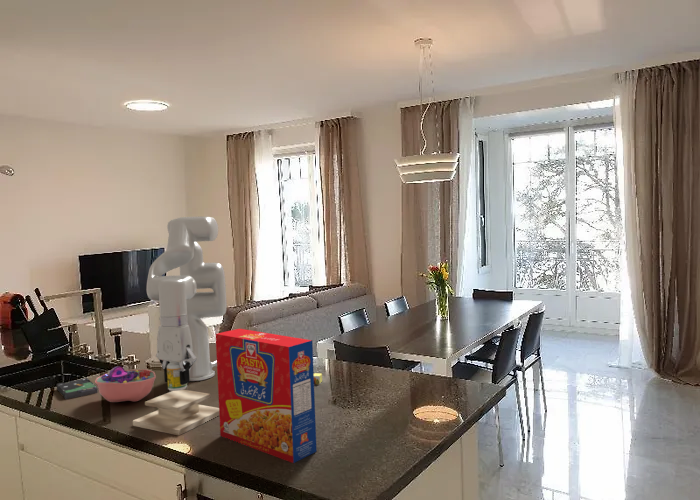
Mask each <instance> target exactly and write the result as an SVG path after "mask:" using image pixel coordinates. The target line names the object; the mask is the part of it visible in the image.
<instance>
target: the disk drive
mask: <svg viewBox="0 0 700 500" xmlns="http://www.w3.org/2000/svg"><path fill="white" fill-rule="evenodd" d="M56 390H58V391H59V392H60V393H61V394H62V395H63V396H64V397H63V396H62V395H61V394H60V393H59V392H58V391H57V392H58V393H59V394H60V395H61V396H62V397H63V398H64V399H65V400H70V399H69V398H71V399H74V398H80V397H85V396H91V395H94V394H98V392H99V389H98V386H97V385H96V383H94V382H93V381H91V380H90V379H89V378H88V377H85V378H80V379H75V380H70V381H68V382H60V383H56Z"/></svg>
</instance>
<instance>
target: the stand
mask: <svg viewBox="0 0 700 500" xmlns="http://www.w3.org/2000/svg"><path fill="white" fill-rule="evenodd" d="M209 398H211V393H206V392H201V391H194V390H187V389H183V390H179V391H171V390H170V391H169V392H167V393H164V394H162V395H159V396H156V397H154V398H151V399H149V400H147V401H144V406H147V407H153V408H157V410H155V411H153V412H152V411H151V412H150V413H148V414H145V415H143V416H141V417H138V418H136V419H133V420H132V426H133V427H137V428H142V429H147V430H152V431H157V432H161V433H166V434H171V435H176V436H181V435H182V434H185V433H187V432H189V431H191V430H193V429H196V428H197V427H200V426H201V425H203V424H205V422H206V423H208V422H210V421H211V419H212V420H214V419H215V417H216V418H217V416H218V417H219V407H215V406H211V405H210V406H208V405H203V404H199V403H200V402H203V401H206V400H207V399H209ZM213 418H214V419H213ZM209 420H210V421H209ZM207 421H208V422H207Z"/></svg>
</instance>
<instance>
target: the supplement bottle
mask: <svg viewBox="0 0 700 500" xmlns="http://www.w3.org/2000/svg"><path fill="white" fill-rule="evenodd" d="M169 362H170V363H169V364H168V365H167V380H168V382H167V390H169V391H170V392H171V391H179V390H186V389H187V388H188V383H186V384H184V385H181V384H180V371H181V368H180V364H179V362H172V361H169ZM183 363H184V362H183ZM184 365H185V363H184Z"/></svg>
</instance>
